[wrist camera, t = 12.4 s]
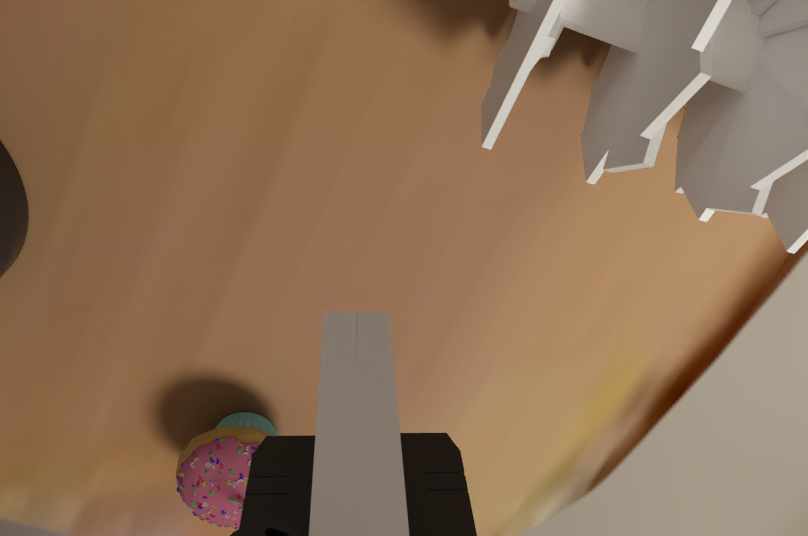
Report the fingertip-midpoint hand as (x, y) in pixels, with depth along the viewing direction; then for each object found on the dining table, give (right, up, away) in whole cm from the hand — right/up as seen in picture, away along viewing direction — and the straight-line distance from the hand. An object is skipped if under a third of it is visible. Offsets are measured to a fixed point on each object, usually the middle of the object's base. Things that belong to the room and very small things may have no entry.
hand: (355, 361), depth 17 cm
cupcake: (-11, -11, +38) cm, 42 cm away
